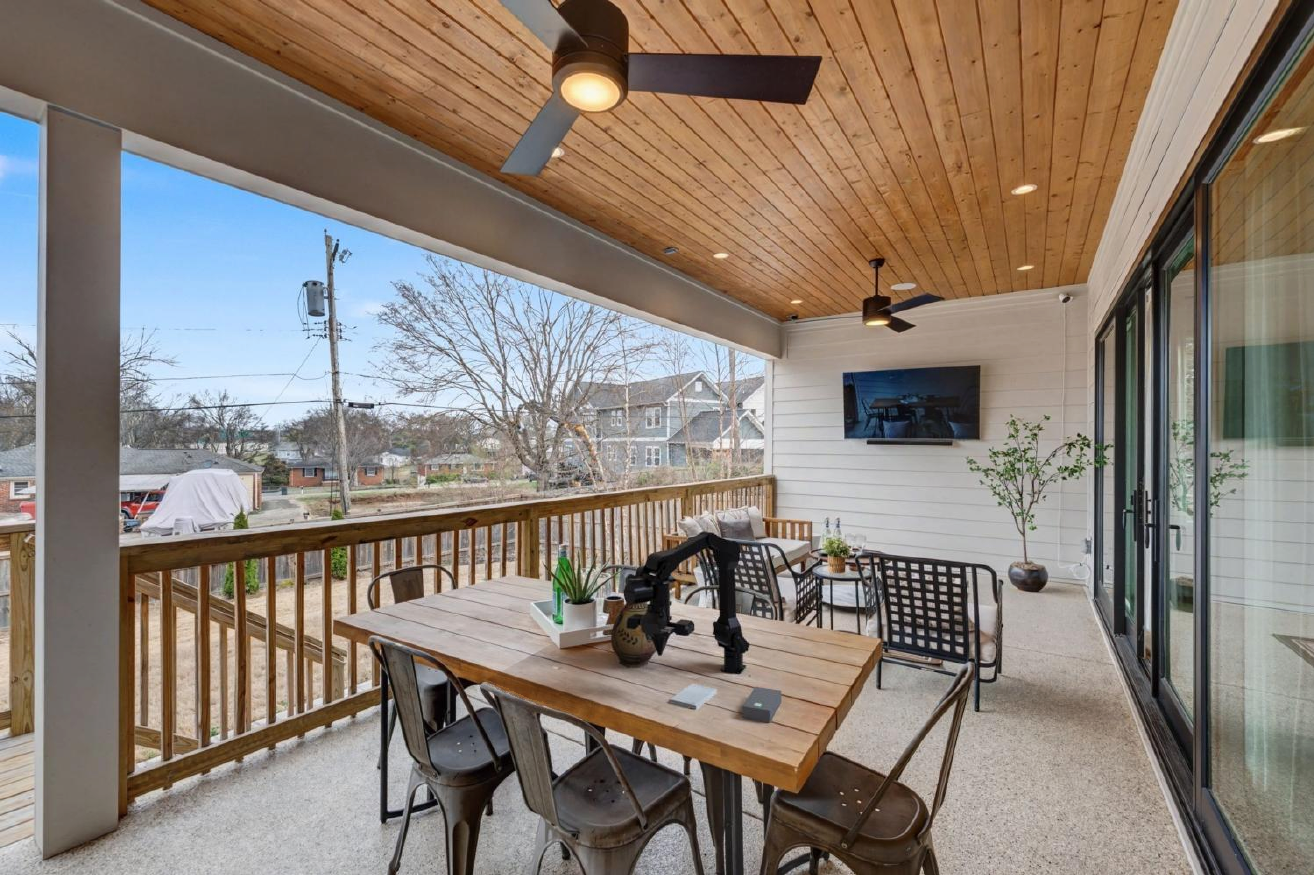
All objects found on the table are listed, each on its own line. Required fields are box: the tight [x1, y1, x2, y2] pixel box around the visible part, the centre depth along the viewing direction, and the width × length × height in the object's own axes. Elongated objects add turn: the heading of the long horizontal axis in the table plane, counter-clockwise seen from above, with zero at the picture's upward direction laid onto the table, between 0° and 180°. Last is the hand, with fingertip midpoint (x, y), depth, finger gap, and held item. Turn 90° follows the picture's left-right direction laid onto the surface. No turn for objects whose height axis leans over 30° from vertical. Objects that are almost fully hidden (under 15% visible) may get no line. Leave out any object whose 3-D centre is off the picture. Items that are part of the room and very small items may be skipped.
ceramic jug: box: [610, 565, 657, 668], centre depth 188 cm, size 17×15×30 cm
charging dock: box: [741, 686, 782, 724], centre depth 153 cm, size 13×8×3 cm, turn 156°
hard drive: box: [668, 683, 718, 710], centre depth 160 cm, size 2×8×12 cm
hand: (660, 655), depth 165 cm, fingers closed
